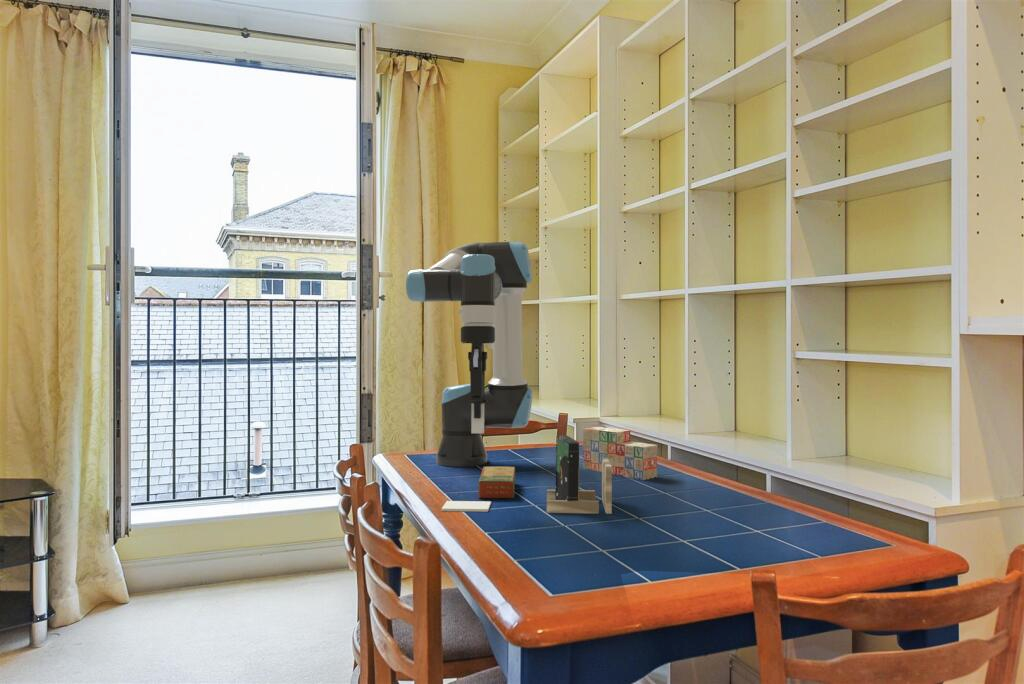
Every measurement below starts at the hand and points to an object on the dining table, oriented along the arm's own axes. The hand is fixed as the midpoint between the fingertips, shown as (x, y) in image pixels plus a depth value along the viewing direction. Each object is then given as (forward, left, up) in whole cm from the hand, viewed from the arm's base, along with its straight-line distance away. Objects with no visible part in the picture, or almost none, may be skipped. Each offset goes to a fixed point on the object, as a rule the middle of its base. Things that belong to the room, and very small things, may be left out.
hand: (477, 432), depth 149 cm
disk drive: (-2, +20, -16) cm, 26 cm away
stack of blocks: (-39, +35, -17) cm, 54 cm away
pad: (0, -2, -16) cm, 16 cm away
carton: (-21, +3, -19) cm, 29 cm away
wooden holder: (-2, +21, -16) cm, 26 cm away
